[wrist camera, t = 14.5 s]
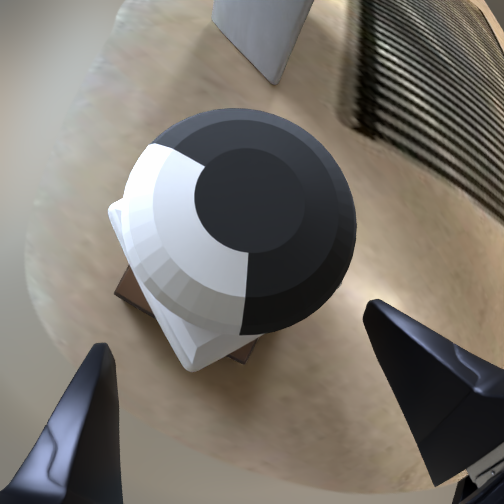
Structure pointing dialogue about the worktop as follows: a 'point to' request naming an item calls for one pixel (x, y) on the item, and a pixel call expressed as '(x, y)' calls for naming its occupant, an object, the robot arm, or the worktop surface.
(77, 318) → the worktop surface
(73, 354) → the worktop surface
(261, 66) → the grey house-shaped board
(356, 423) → the worktop surface
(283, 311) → the medicine bottle
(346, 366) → the worktop surface
